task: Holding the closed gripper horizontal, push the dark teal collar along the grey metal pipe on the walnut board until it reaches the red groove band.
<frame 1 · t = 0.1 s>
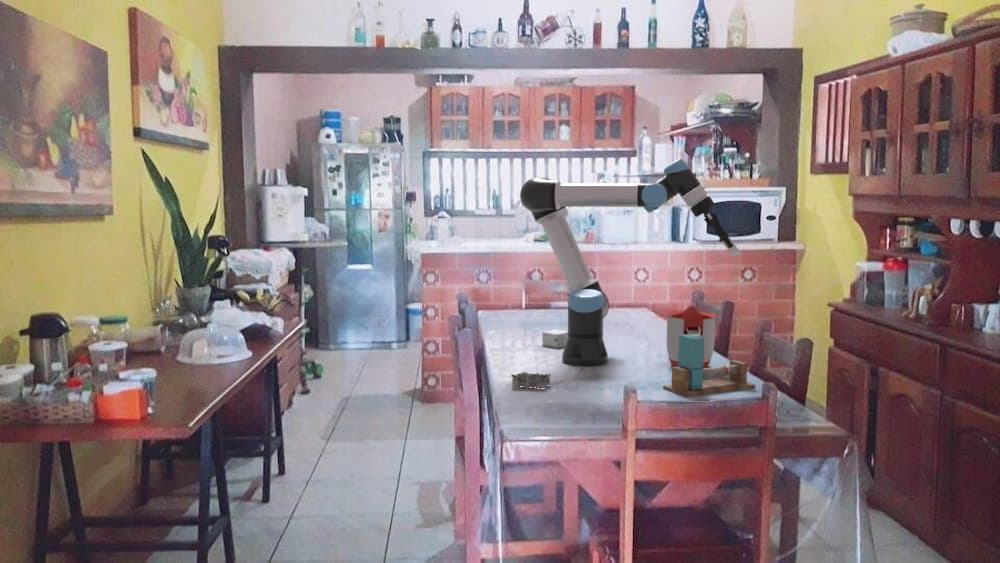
hand: (736, 254, 249), 36 cm above the table, tool tilted 35°, fingers open, 13 cm apart
egg carton: (531, 387, 219), on the table
small box: (556, 345, 279), on the table
citrus juicer: (689, 367, 244), on the table
rail: (709, 387, 217), on the table
collar: (690, 361, 213), point 8 cm above the table, slide at 0.0 cm
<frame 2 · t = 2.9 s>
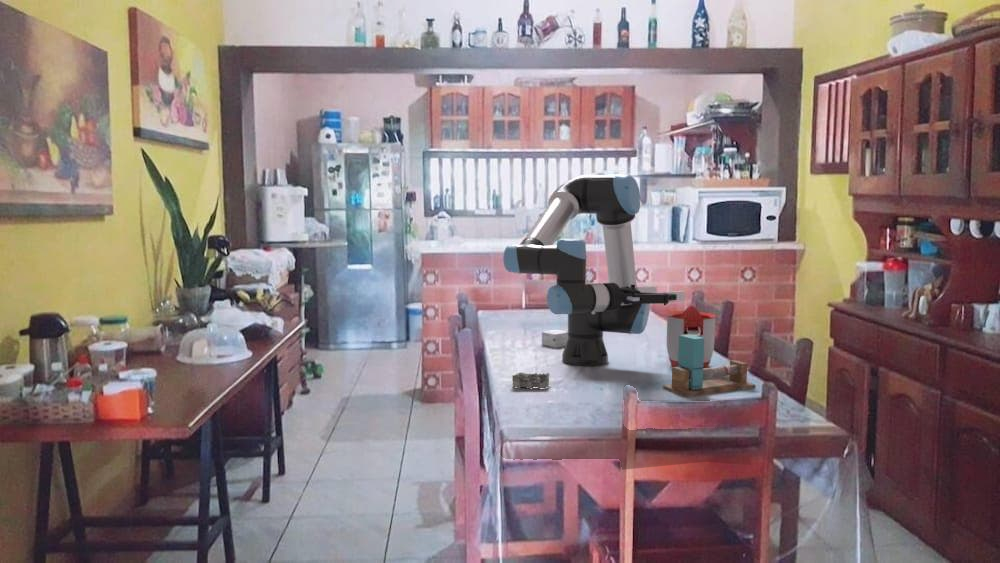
hand: (669, 293, 209), 28 cm above the table, tool horizontal, fingers open, 12 cm apart
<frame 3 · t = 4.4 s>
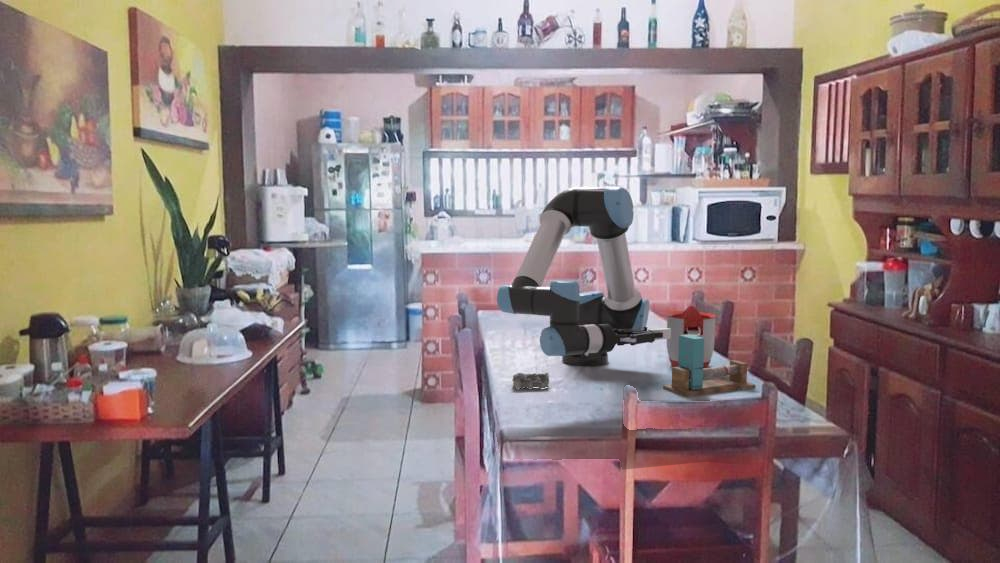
hand: (669, 333, 209), 17 cm above the table, tool horizontal, fingers closed
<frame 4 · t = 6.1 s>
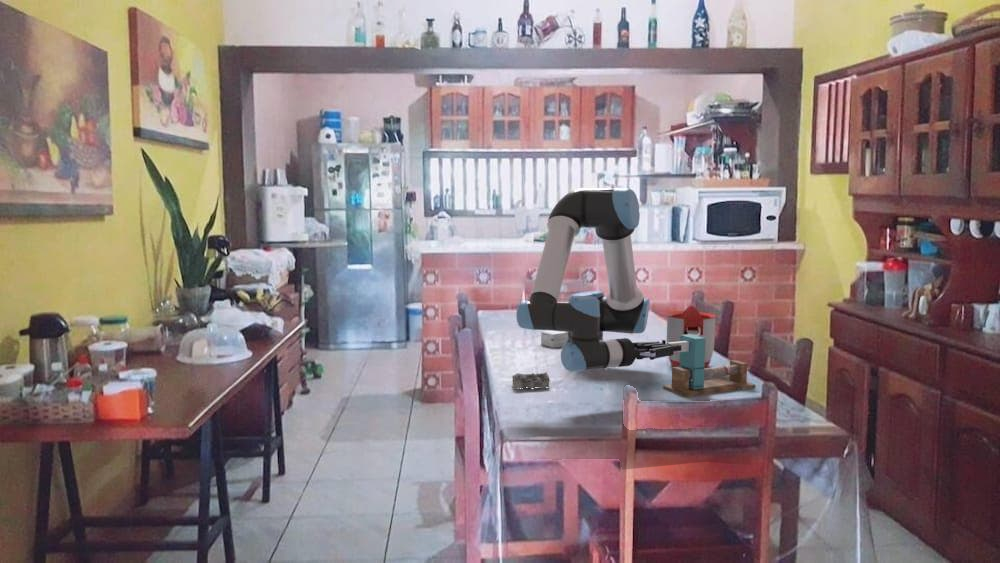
hand: (687, 346, 212), 13 cm above the table, tool horizontal, fingers closed
collar: (692, 361, 213), point 8 cm above the table, slide at 0.5 cm, touching gripper
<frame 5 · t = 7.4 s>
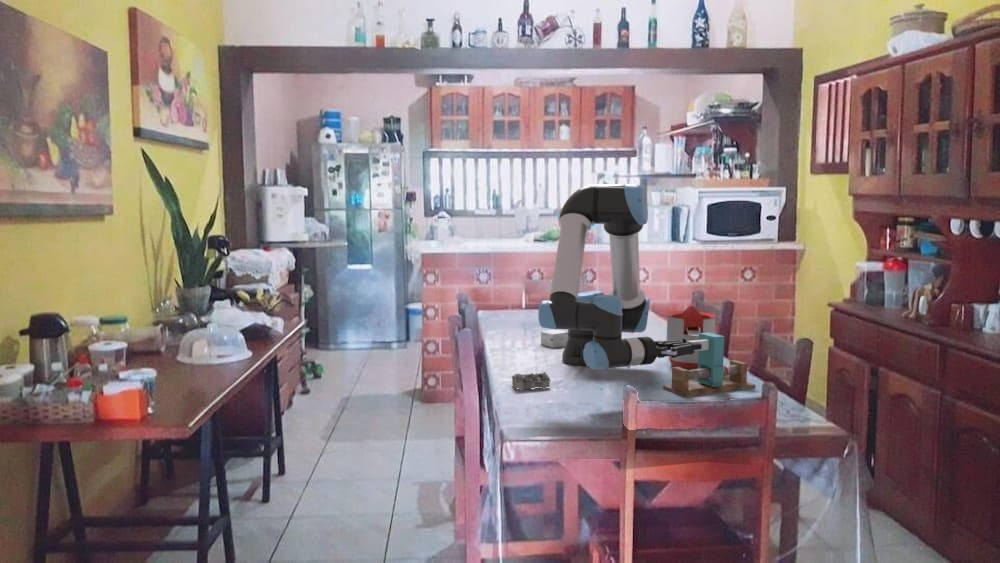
hand: (707, 344, 214), 13 cm above the table, tool horizontal, fingers closed
collar: (710, 359, 216), point 8 cm above the table, slide at 7.1 cm, touching gripper
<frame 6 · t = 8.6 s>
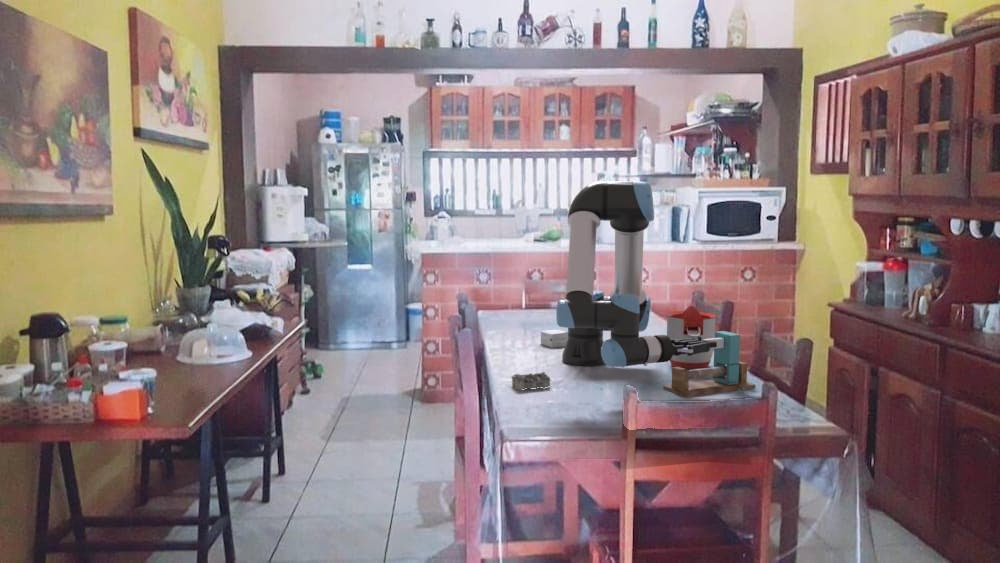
hand: (722, 342, 217), 13 cm above the table, tool horizontal, fingers closed
collar: (726, 357, 218), point 8 cm above the table, slide at 12.9 cm, touching gripper
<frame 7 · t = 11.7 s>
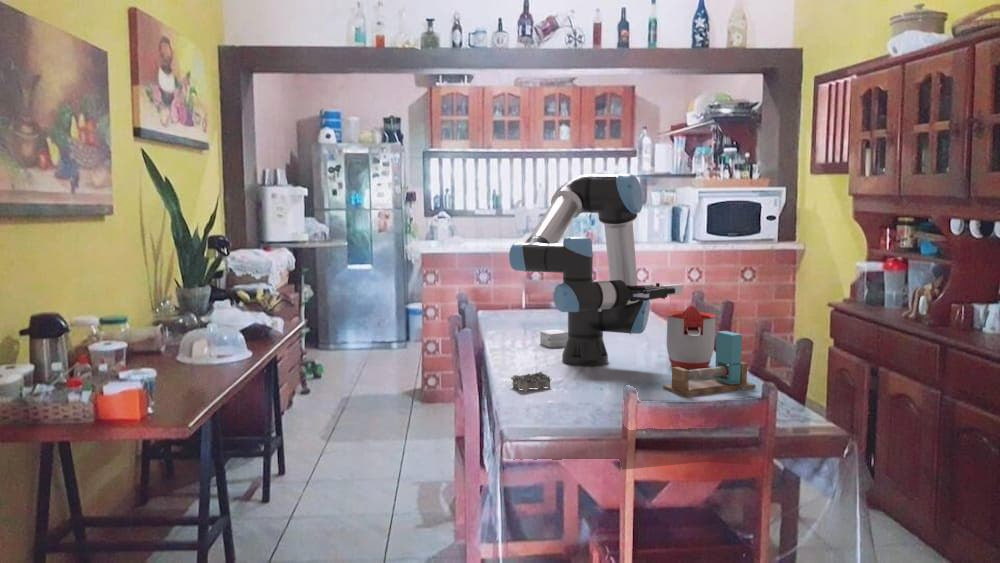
hand: (681, 289, 210), 29 cm above the table, tool horizontal, fingers closed
collar: (728, 357, 218), point 8 cm above the table, slide at 13.6 cm
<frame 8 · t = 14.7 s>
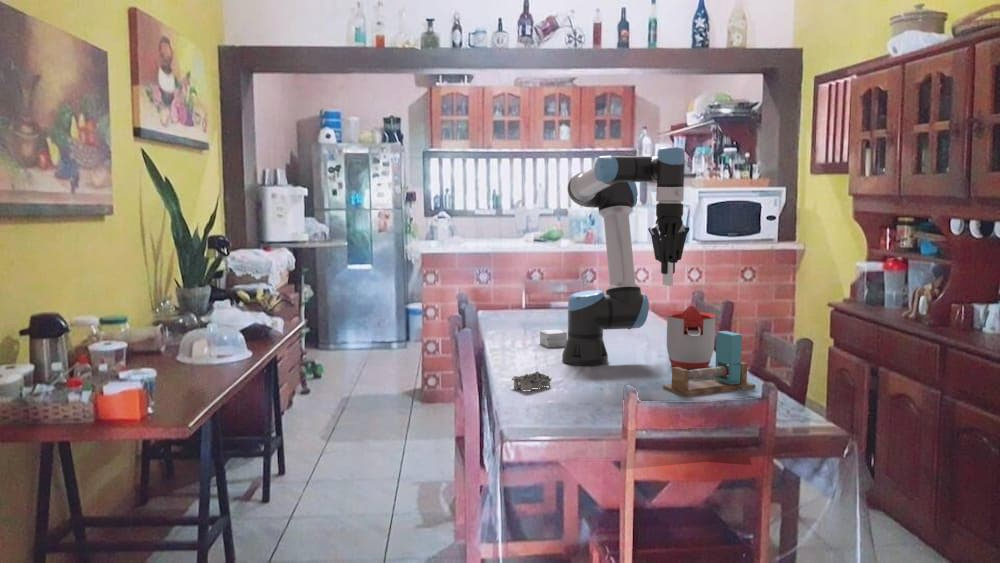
hand: (667, 285, 216), 29 cm above the table, tool pointing down, fingers closed
at the end: collar slide at 13.6 cm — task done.
